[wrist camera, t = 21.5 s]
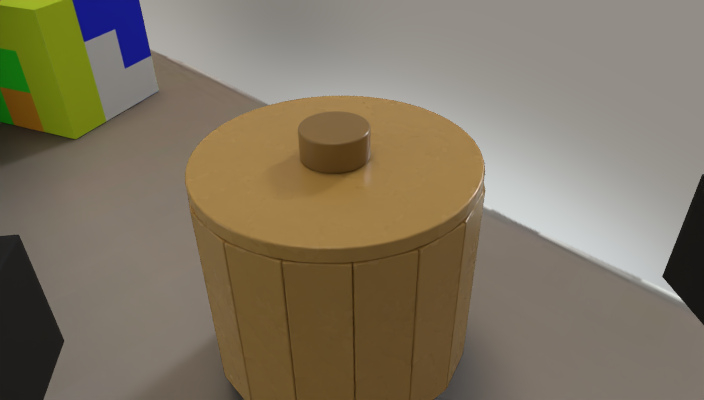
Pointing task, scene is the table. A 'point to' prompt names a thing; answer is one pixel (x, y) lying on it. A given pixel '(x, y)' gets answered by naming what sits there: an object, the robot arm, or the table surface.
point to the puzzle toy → (72, 63)
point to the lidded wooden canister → (338, 247)
